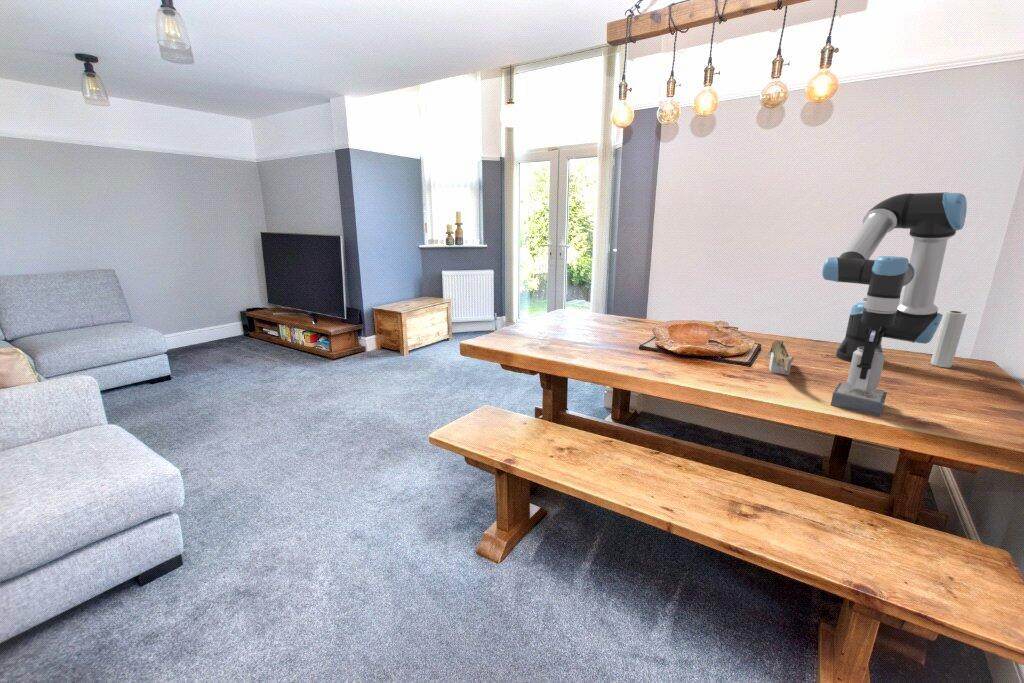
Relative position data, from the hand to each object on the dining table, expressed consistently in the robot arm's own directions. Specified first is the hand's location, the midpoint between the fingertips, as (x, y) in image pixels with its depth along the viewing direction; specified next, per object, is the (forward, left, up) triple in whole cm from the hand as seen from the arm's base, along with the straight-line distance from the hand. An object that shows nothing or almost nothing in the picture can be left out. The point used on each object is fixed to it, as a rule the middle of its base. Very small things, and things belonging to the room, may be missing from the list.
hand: (862, 384), depth 137 cm
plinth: (0, 0, -7) cm, 7 cm away
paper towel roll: (-70, +19, -7) cm, 73 cm away
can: (0, 0, -1) cm, 1 cm away
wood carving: (-16, -25, -7) cm, 30 cm away
